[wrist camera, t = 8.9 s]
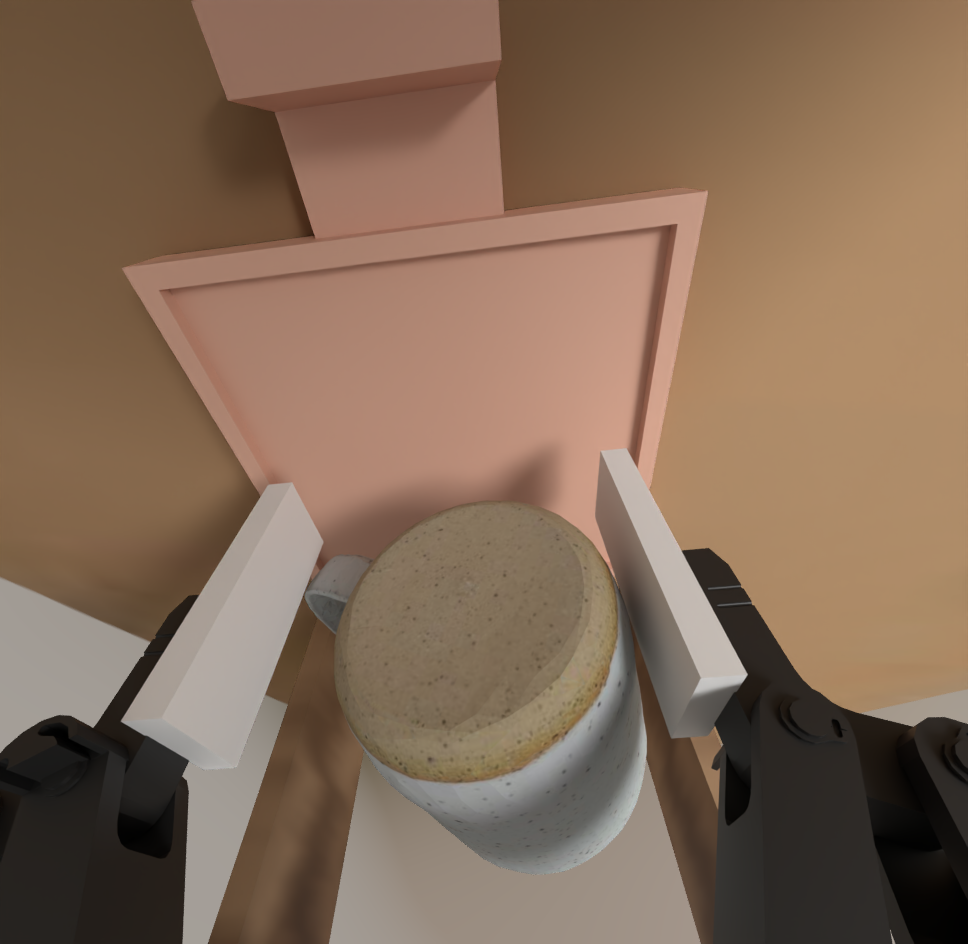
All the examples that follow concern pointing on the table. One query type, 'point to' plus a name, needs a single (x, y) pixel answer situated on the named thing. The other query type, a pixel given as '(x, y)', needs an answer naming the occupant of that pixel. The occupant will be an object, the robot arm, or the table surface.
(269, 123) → the table surface
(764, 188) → the table surface
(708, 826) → the shelf
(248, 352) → the tray
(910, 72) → the table surface
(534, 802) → the ceramic mug
